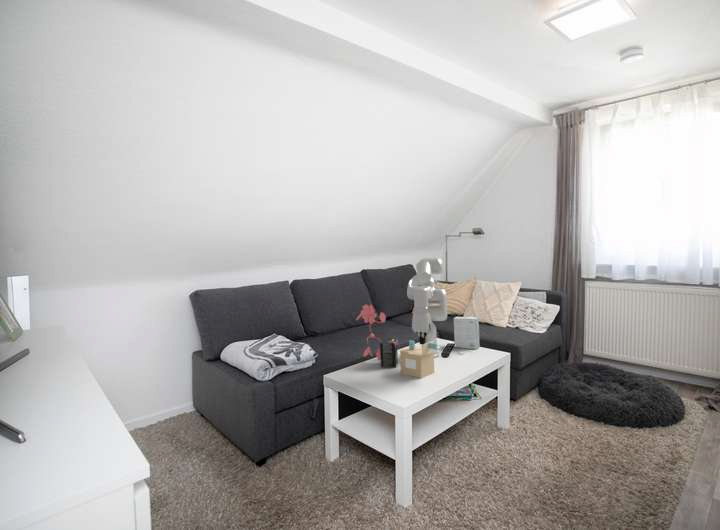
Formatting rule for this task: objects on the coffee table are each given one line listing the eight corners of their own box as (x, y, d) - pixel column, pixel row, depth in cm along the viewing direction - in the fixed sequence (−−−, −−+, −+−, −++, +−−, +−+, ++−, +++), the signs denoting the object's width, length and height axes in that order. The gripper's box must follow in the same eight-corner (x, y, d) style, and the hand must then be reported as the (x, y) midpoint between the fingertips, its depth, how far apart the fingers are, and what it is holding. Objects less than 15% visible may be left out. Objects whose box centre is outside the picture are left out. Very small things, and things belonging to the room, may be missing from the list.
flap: (434, 340, 226) (442, 341, 222) (434, 351, 226) (442, 352, 222) (422, 344, 218) (430, 346, 214) (422, 355, 218) (431, 357, 214)
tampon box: (396, 367, 239) (395, 343, 238) (380, 367, 241) (379, 342, 240) (398, 362, 250) (397, 338, 249) (383, 362, 251) (382, 338, 251)
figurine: (363, 353, 272) (360, 301, 270) (393, 360, 254) (390, 304, 252) (346, 359, 261) (343, 304, 259) (377, 366, 243) (373, 308, 241)
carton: (412, 367, 238) (411, 337, 237) (434, 372, 228) (433, 341, 227) (399, 372, 229) (398, 342, 228) (421, 378, 219) (420, 346, 218)
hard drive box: (479, 346, 278) (479, 317, 277) (477, 349, 271) (476, 319, 270) (457, 344, 285) (456, 316, 284) (453, 347, 279) (453, 318, 278)
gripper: (406, 310, 226) (407, 343, 227) (428, 312, 216) (429, 347, 216) (414, 308, 231) (415, 340, 232) (437, 310, 221) (438, 344, 222)
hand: (422, 343), depth 224 cm, fingers closed
